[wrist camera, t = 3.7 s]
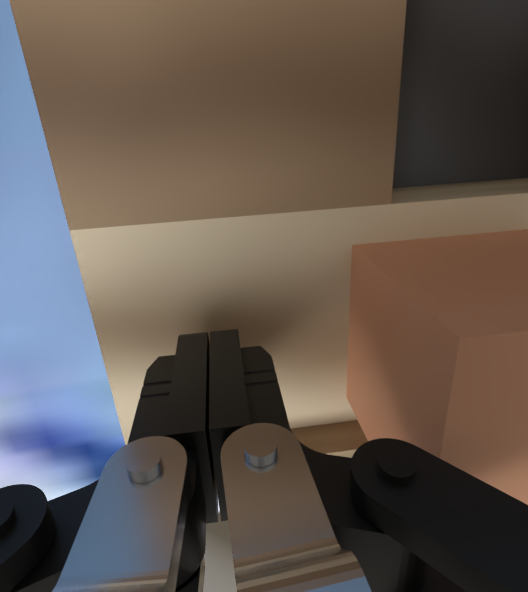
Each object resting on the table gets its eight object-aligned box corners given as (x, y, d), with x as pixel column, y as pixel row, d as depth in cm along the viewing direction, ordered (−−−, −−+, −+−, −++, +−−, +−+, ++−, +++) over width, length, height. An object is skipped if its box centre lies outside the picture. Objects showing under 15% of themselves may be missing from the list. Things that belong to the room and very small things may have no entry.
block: (352, 245, 10) (459, 338, 6) (527, 229, 11) (753, 304, 6) (346, 396, 12) (423, 553, 8) (494, 378, 13) (647, 517, 8)
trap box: (11, -165, 8) (-120, -354, 5) (886, -161, 10) (1208, -296, 7) (145, 420, 15) (125, 506, 12) (666, 355, 17) (779, 412, 14)
